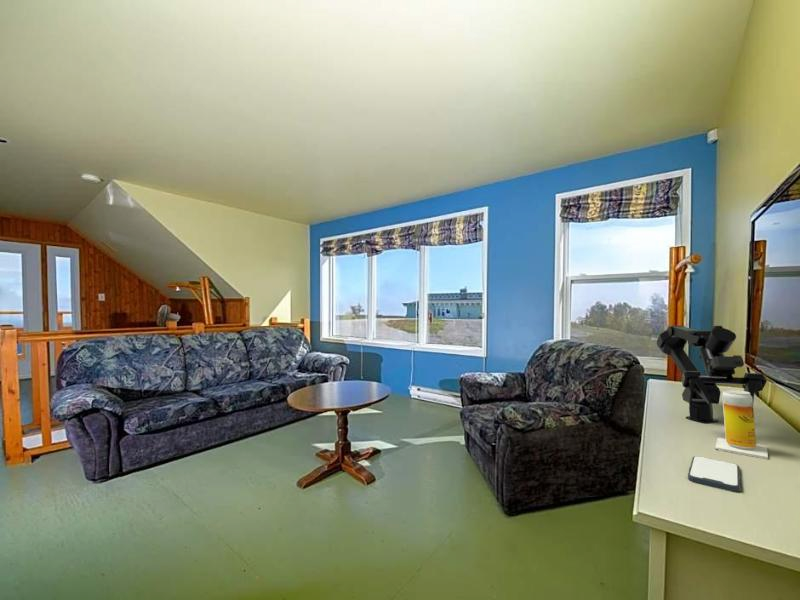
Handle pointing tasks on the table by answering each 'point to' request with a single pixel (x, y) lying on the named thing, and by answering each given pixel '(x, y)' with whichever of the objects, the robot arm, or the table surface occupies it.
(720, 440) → the mat
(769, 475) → the table surface
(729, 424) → the beer can
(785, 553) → the table surface
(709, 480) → the phone case
